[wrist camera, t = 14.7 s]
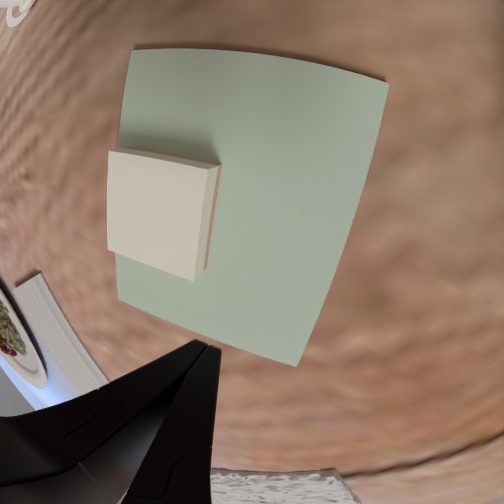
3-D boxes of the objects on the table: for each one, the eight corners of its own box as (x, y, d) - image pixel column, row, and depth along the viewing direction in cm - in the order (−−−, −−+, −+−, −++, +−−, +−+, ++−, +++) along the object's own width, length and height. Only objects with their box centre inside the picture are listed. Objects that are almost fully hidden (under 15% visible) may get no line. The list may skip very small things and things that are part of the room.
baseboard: (50, 266, 28) (19, 285, 33) (32, 278, 25) (5, 294, 30) (179, 447, 36) (129, 436, 41) (171, 461, 34) (121, 448, 39)
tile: (208, 169, 15) (108, 150, 16) (193, 281, 18) (107, 249, 19) (222, 164, 17) (128, 146, 18) (206, 267, 20) (124, 239, 21)
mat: (387, 84, 13) (389, 83, 12) (297, 362, 22) (296, 367, 21) (135, 51, 16) (131, 50, 15) (121, 296, 25) (118, 299, 24)
